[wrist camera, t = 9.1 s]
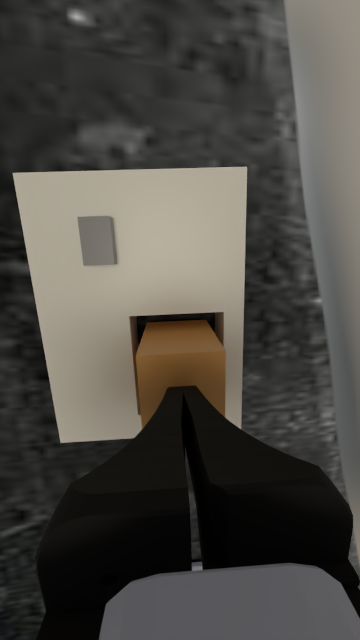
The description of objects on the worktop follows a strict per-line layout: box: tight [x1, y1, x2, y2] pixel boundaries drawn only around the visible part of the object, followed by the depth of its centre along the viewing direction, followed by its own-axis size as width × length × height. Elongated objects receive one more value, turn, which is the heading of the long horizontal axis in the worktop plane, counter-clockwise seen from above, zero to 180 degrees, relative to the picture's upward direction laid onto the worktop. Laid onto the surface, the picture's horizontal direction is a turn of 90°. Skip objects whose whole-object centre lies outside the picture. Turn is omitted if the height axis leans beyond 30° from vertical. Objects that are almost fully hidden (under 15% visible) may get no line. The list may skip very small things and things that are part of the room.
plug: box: [136, 320, 226, 449], centre depth 15 cm, size 5×4×7 cm
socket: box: [13, 167, 247, 443], centre depth 16 cm, size 16×12×4 cm
